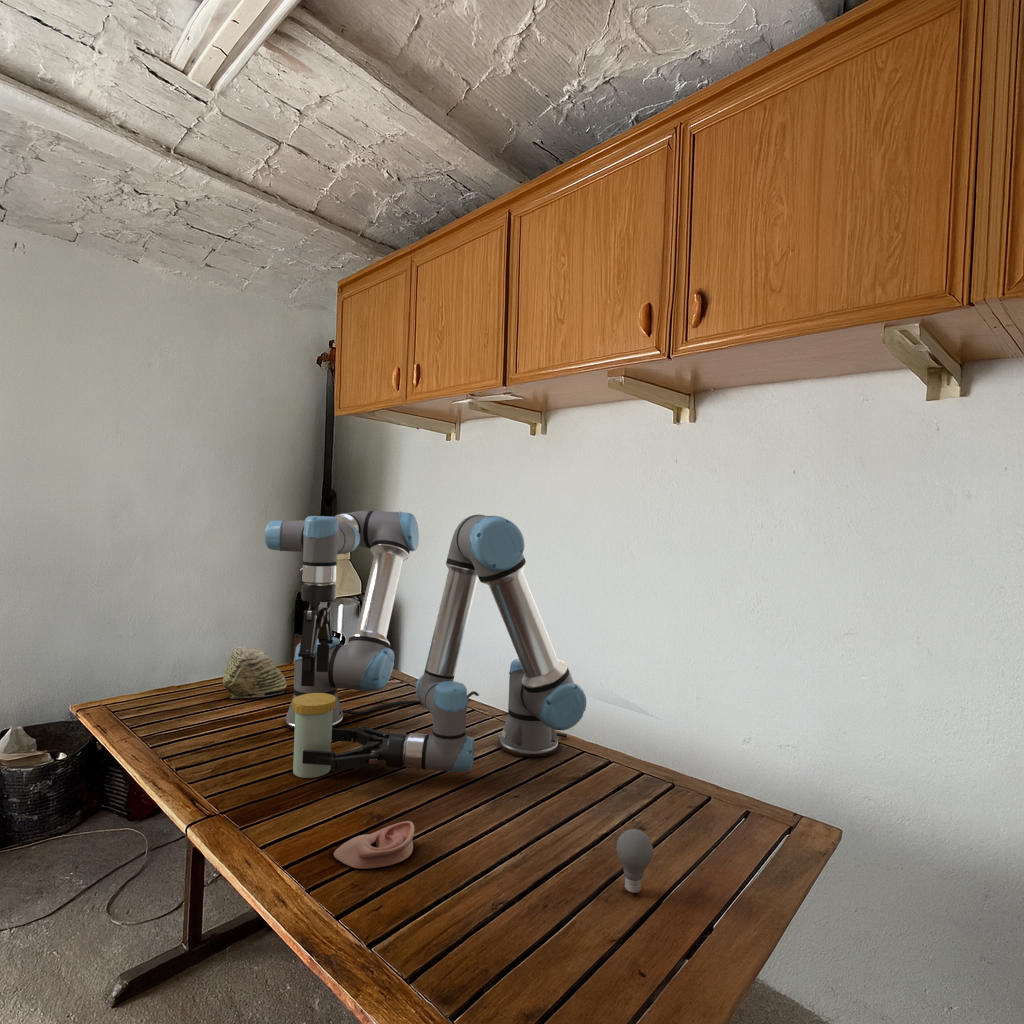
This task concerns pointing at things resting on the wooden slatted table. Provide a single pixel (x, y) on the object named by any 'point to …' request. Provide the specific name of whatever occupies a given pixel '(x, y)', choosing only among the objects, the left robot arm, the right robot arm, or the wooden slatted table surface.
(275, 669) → the fossil
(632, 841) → the light bulb
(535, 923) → the wooden slatted table surface
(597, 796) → the wooden slatted table surface
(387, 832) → the anatomical model
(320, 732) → the jar
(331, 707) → the lid
